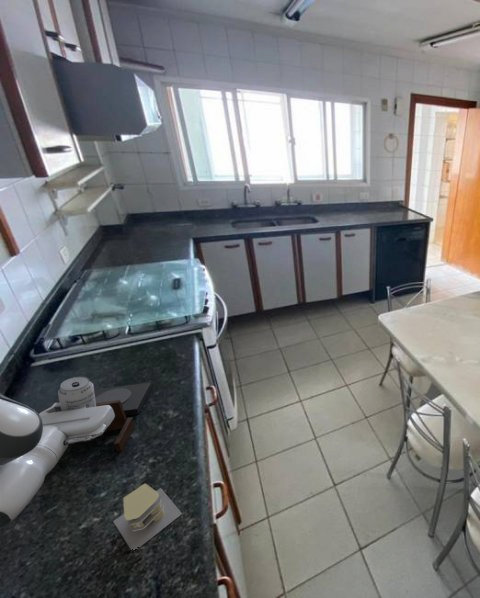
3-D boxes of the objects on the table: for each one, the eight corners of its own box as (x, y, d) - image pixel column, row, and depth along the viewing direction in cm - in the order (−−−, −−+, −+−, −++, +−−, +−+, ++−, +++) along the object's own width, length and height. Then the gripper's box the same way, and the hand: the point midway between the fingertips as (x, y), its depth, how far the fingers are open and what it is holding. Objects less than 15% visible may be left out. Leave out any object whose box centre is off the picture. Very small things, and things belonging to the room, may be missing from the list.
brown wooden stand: (34, 467, 78) (19, 439, 74) (57, 436, 86) (44, 410, 82) (121, 451, 83) (111, 425, 79) (135, 423, 91) (126, 398, 87)
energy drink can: (95, 418, 86) (89, 372, 81) (101, 433, 83) (95, 385, 77) (63, 428, 82) (54, 380, 76) (68, 444, 78) (59, 395, 73)
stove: (68, 424, 89) (63, 414, 88) (89, 395, 99) (86, 386, 98) (138, 414, 94) (135, 404, 93) (152, 387, 105) (149, 378, 103)
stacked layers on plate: (113, 521, 68) (103, 504, 66) (160, 487, 75) (153, 471, 73) (132, 552, 63) (123, 536, 61) (182, 513, 70) (175, 497, 67)
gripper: (94, 427, 70) (121, 386, 82) (-38, 448, 63) (12, 399, 75) (103, 448, 72) (127, 405, 84) (-23, 470, 66) (23, 420, 78)
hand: (72, 402), depth 79 cm, fingers closed on energy drink can, 3 cm apart
